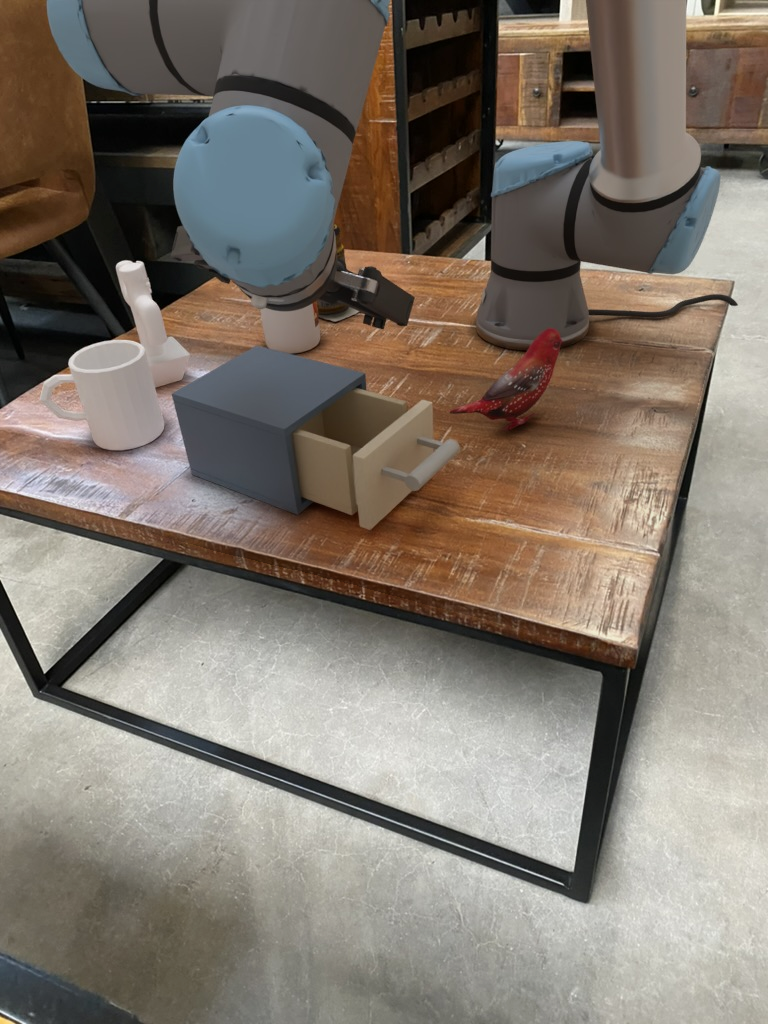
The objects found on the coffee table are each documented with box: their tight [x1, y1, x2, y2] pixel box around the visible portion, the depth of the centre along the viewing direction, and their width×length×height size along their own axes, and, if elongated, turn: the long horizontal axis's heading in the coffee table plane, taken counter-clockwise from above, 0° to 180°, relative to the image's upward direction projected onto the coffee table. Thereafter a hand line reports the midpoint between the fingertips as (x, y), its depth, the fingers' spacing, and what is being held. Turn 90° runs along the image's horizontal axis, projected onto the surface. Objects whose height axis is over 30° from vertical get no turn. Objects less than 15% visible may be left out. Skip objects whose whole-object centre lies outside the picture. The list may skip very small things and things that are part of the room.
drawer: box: [291, 388, 461, 531], centre depth 74 cm, size 18×11×8 cm, turn 56°
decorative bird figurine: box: [449, 328, 563, 433], centre depth 81 cm, size 3×18×10 cm, turn 132°
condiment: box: [317, 223, 361, 322], centre depth 113 cm, size 7×8×12 cm
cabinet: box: [171, 345, 368, 516], centre depth 79 cm, size 15×13×10 cm
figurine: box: [115, 259, 191, 389], centre depth 96 cm, size 7×9×15 cm
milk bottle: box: [259, 301, 321, 355], centre depth 101 cm, size 8×8×20 cm
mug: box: [39, 339, 165, 451], centre depth 86 cm, size 8×12×10 cm
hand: (300, 289), depth 72 cm, fingers open, 13 cm apart
